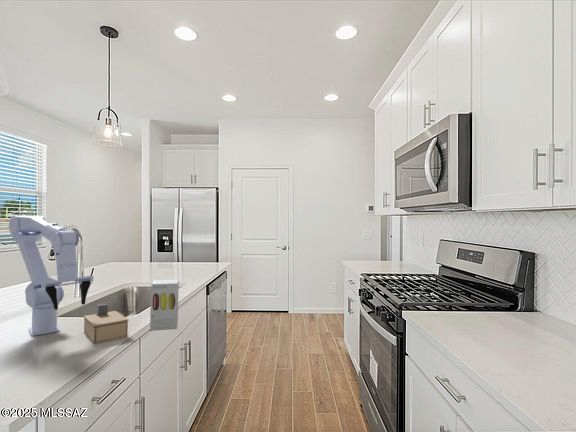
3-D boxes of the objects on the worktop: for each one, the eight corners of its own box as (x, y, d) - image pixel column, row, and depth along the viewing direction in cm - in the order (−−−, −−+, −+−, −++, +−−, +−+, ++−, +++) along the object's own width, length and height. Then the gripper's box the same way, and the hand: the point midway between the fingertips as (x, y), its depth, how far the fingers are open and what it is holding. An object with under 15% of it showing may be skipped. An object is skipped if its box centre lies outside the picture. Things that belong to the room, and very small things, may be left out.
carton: (84, 332, 117) (84, 318, 117) (115, 327, 124) (115, 313, 124) (94, 343, 107) (94, 328, 107) (127, 336, 113) (127, 321, 113)
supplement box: (149, 331, 119) (150, 284, 120) (152, 323, 128) (152, 279, 128) (177, 329, 122) (178, 282, 122) (178, 321, 131) (179, 278, 131)
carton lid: (83, 317, 117) (83, 305, 117) (115, 312, 124) (116, 301, 124) (93, 327, 106) (94, 314, 106) (128, 321, 113) (128, 308, 114)
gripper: (41, 268, 105) (45, 312, 103) (94, 262, 114) (97, 302, 113) (39, 269, 110) (42, 311, 108) (89, 263, 120) (92, 302, 118)
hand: (70, 306), depth 111 cm, fingers open, 7 cm apart
